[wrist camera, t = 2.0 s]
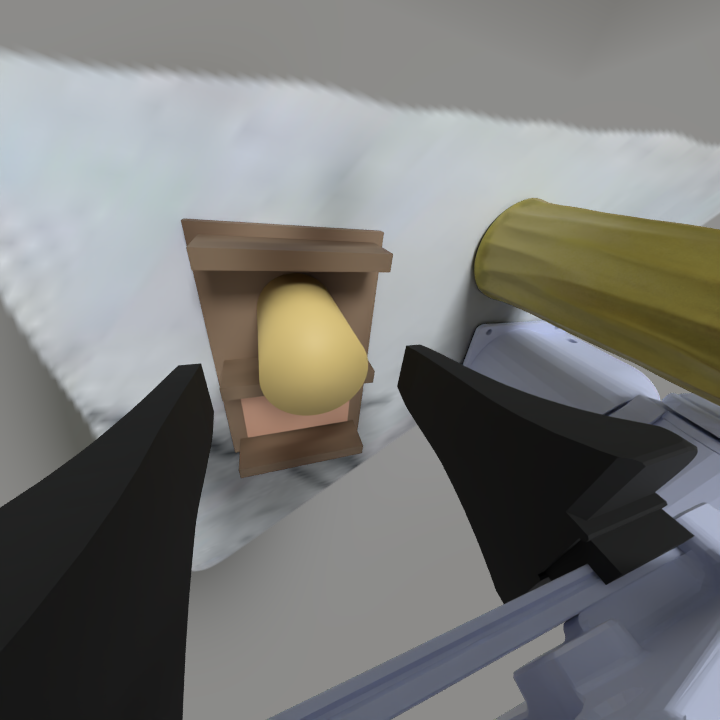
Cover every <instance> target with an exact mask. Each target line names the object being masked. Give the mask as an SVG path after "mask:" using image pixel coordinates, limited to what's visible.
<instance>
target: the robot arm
mask: <svg viewBox="0 0 720 720" xmlns="http://www.w3.org/2000/svg"><path fill="white" fill-rule="evenodd" d="M397 387H398V389H399V392H400V394H401V396H402V399H403V401H404V403H405V405H406V407H407V409H408V410H409V412H410V414H411V415H412V417H413V418H414V420H415V422H416V423H417V425H418V426H419V428H420V429H421V431H422V432H423V434H424V435H425V437H426V439H427V440H428V442H429V443H430V445H431V446H432V448H433V450H434V451H435V453H436V454H437V456H438V458H439V460H440V461H441V463H442V465H443V467H444V469H445V471H446V473H447V475H448V477H449V479H450V481H451V483H452V485H453V487H454V489H455V491H456V493H457V495H458V498H459V500H460V502H461V504H462V506H463V508H464V510H465V513H466V515H467V517H468V520H469V522H470V524H471V527H472V529H473V531H474V534H475V536H476V538H477V541H478V543H479V546H480V548H481V551H482V554H483V556H484V559H485V562H486V564H487V567H488V569H489V572H490V574H491V577H492V580H493V583H494V586H495V589H496V591H497V593H498V595H499V596H500V598H501V600H502V601H503V603H504V605H502V606H499V607H497V608H495V609H493V610H491V611H489V612H487V613H485V614H483V615H481V616H479V617H477V618H475V619H473V620H471V621H469V622H466V623H464V624H462V625H460V626H458V627H456V628H454V629H452V630H450V631H448V632H446V633H444V634H442V635H440V636H438V637H436V638H434V639H432V640H429V641H427V642H425V643H423V644H421V645H419V646H417V647H415V648H413V649H411V650H409V651H407V652H405V653H403V654H401V655H399V656H396V657H395V658H392V659H390V660H388V661H386V662H384V663H382V664H380V665H378V666H376V667H374V668H372V669H370V670H368V671H365V672H363V673H361V674H360V675H357V676H355V677H353V678H351V679H349V680H347V681H345V682H343V683H341V684H339V685H337V686H335V687H332V688H330V689H328V690H326V691H325V692H322V693H320V694H318V695H316V696H314V697H312V698H310V699H308V700H306V701H304V702H302V703H300V704H297V705H296V706H293V707H291V708H289V709H287V710H285V711H283V712H281V713H279V714H277V715H275V716H273V717H271V718H269V719H267V720H391V719H393V718H395V717H397V716H398V715H400V714H402V713H404V712H405V711H407V710H409V709H411V708H412V707H414V706H416V705H418V704H420V703H422V702H423V701H425V700H427V699H429V698H430V697H432V696H434V695H436V694H438V693H439V692H441V691H443V690H445V689H446V688H448V687H450V686H452V685H453V684H455V683H457V682H459V681H461V680H462V679H464V678H466V677H468V676H470V675H471V674H473V673H475V672H477V671H478V670H480V669H482V668H484V667H486V666H487V665H489V664H491V663H493V662H494V661H496V660H498V659H500V658H502V657H503V656H505V655H507V654H509V653H510V652H512V651H514V650H516V649H518V648H519V647H521V646H523V645H525V644H526V643H528V642H530V641H532V640H534V639H535V638H537V637H539V636H541V635H542V634H544V633H545V632H547V631H550V630H551V629H553V628H555V627H557V626H558V625H560V624H562V623H564V622H565V623H564V633H565V642H564V643H562V644H560V645H559V646H557V647H555V648H553V649H551V650H549V651H548V652H546V653H544V654H543V655H540V656H539V657H537V658H535V659H533V660H532V661H530V662H529V663H527V664H525V665H524V666H522V667H521V668H519V669H518V670H516V671H515V672H514V677H513V678H514V680H515V682H516V683H517V686H518V687H519V689H520V691H521V693H522V695H523V697H524V699H525V701H524V702H523V703H521V704H519V705H518V706H516V707H514V708H513V709H511V710H509V711H508V712H506V713H505V714H503V715H501V716H499V717H498V718H496V719H494V720H720V406H718V405H716V404H714V403H712V402H710V401H708V400H706V399H704V398H702V397H700V396H698V395H696V394H694V393H683V394H680V395H679V394H675V393H670V394H668V395H667V396H666V397H665V398H664V399H662V401H660V397H659V394H658V392H657V390H656V388H655V386H654V385H653V384H652V382H651V381H650V380H649V379H648V378H647V377H646V376H645V375H644V374H643V373H642V372H640V371H639V370H638V369H636V368H634V367H632V366H630V365H628V364H626V363H625V362H623V361H621V360H619V359H617V358H615V357H613V356H611V355H609V354H607V353H605V352H603V351H601V350H599V349H597V348H595V347H593V346H591V345H590V344H587V343H586V342H584V341H582V340H580V339H578V338H576V337H574V336H572V335H570V334H568V333H566V331H564V330H562V329H560V328H558V327H555V326H553V325H552V324H550V323H548V322H546V321H529V322H512V323H496V324H482V325H480V326H478V327H477V329H476V330H475V333H474V336H473V339H472V341H471V344H470V347H469V349H468V352H467V355H466V358H465V360H464V363H463V365H462V364H460V363H458V362H456V361H454V360H452V359H450V358H448V357H446V356H444V355H442V354H440V353H438V352H436V351H434V350H432V349H429V348H427V347H425V346H422V345H410V346H406V349H405V354H404V358H403V363H402V367H401V372H400V376H399V381H398V385H397ZM213 419H214V410H213V407H212V403H211V399H210V395H209V392H208V388H207V384H206V380H205V377H204V373H203V369H202V365H201V364H191V365H179V366H178V367H176V368H175V369H174V370H173V371H172V372H171V373H170V374H169V375H168V376H167V377H166V378H165V379H164V380H163V381H162V382H161V383H160V384H159V385H158V386H157V387H156V388H155V389H153V390H152V391H151V392H150V393H149V394H148V395H147V396H146V397H145V398H144V399H143V400H142V401H141V402H140V403H138V404H137V405H136V406H135V407H134V408H133V409H132V410H131V411H130V412H129V413H127V414H126V415H125V416H124V417H123V418H121V419H120V420H119V421H118V422H117V423H116V424H114V425H113V426H112V427H111V428H110V429H108V430H107V431H106V432H105V433H104V434H103V435H101V436H100V437H99V438H98V439H97V440H95V441H94V442H93V443H92V444H90V445H89V446H88V447H86V448H85V449H84V450H83V451H81V452H80V453H79V454H77V455H76V456H75V457H73V458H72V459H71V460H69V461H68V462H66V463H65V464H64V465H62V466H61V467H60V468H58V469H57V470H55V471H54V472H53V473H51V474H50V475H49V476H47V477H46V478H44V479H43V480H41V481H40V482H38V483H37V484H36V485H34V486H33V487H31V488H29V489H28V490H26V491H25V492H23V493H22V494H20V495H19V496H18V497H16V498H14V499H13V500H11V501H10V502H8V503H7V504H5V505H4V506H2V507H1V508H0V720H182V718H183V716H182V715H183V692H184V673H185V652H186V636H187V621H188V604H189V592H190V580H191V568H192V557H193V547H194V536H195V526H196V519H197V513H198V507H199V502H200V497H201V492H202V487H203V483H204V478H205V473H206V468H207V463H208V458H209V453H210V448H211V443H212V435H213Z"/></svg>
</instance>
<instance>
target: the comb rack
mask: <svg viewBox="0 0 720 720" xmlns="http://www.w3.org/2000/svg"><path fill="white" fill-rule="evenodd" d="M181 223H182V227H183V231H184V235H185V240H186V244H187V247H186V248H187V252H188V257H189V261H190V265H191V269H192V270H193V274H194V278H195V282H196V287H197V291H198V295H199V299H200V304H201V308H202V312H203V317H204V321H205V325H206V329H207V334H208V338H209V342H210V346H211V351H212V355H213V359H214V363H215V368H216V372H217V376H218V381H219V385H220V392H221V396H222V401H223V402H224V406H225V410H226V415H227V419H228V423H229V428H230V432H231V436H232V440H233V445H234V449H235V453H236V452H240V459H239V473H240V477H241V478H244V477H249V476H254V475H259V474H264V473H268V472H273V471H278V470H283V469H287V468H292V467H297V466H302V465H307V464H311V463H316V462H321V461H326V460H330V459H335V458H340V457H345V456H349V455H354V454H359V453H362V449H363V444H362V442H361V439H360V437H359V434H358V432H357V429H358V422H359V414H360V407H361V399H362V392H363V385H362V387H361V388H360V390H359V391H358V392H357V393H356V395H355V396H354V397H353V398H351V399H350V400H349V401H348V402H347V403H345V404H344V405H342V406H340V407H338V408H336V409H334V410H332V411H329V412H326V413H323V414H318V415H310V416H302V415H294V414H290V413H287V412H284V411H282V410H280V409H278V408H276V407H275V406H274V405H272V404H271V403H270V402H269V401H268V400H267V399H266V397H265V396H264V394H263V392H262V390H261V387H260V383H259V357H258V326H257V302H258V298H259V296H260V293H261V292H262V290H263V288H264V287H265V286H266V285H267V284H268V283H269V282H270V281H272V280H273V279H275V278H277V277H279V276H281V275H285V274H290V273H300V274H305V275H308V276H311V277H313V278H315V279H317V280H318V281H319V282H321V283H322V284H323V285H324V286H325V288H326V289H327V291H328V292H329V294H330V295H331V297H332V298H333V300H334V302H335V303H336V305H337V306H338V308H339V310H340V311H341V313H342V314H343V316H344V317H345V319H346V321H347V322H348V324H349V325H350V327H351V329H352V330H353V332H354V333H355V335H356V336H357V338H358V340H359V341H360V343H361V344H362V346H363V348H364V349H365V352H366V354H368V347H369V339H370V332H371V324H372V317H373V310H374V302H375V295H376V287H377V280H378V272H390V270H391V264H392V258H393V254H392V253H390V252H389V251H387V250H385V249H384V248H382V242H383V235H384V232H382V231H375V230H359V229H343V228H327V227H311V226H295V225H279V224H262V223H246V222H230V221H214V220H198V219H182V220H181ZM374 372H375V371H374V369H373V368H372V366H371V364H370V363H369V361H368V371H367V376H366V379H365V381H364V383H372V382H373V379H374ZM364 383H363V384H364Z"/></svg>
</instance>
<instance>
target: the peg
mask: <svg viewBox="0 0 720 720" xmlns="http://www.w3.org/2000/svg"><path fill="white" fill-rule="evenodd" d="M257 326H258V357H259V383H260V387H261V390H262V392H263V394H264V396H265V397H266V399H267V400H268V401H269V402H270V403H271V404H272V405H274V406H275V407H276V408H278V409H280V410H282V411H284V412H287V413H290V414H294V415H302V416H310V415H318V414H323V413H326V412H329V411H332V410H334V409H336V408H338V407H340V406H342V405H344V404H345V403H347V402H348V401H349V400H350V399H351V398H353V397H354V396H355V395H356V393H357V392H358V391H359V390H360V388H361V387H362V385H363V383H364V381H365V379H366V376H367V371H368V358H367V354H366V352H365V349H364V348H363V346H362V344H361V343H360V341H359V340H358V338H357V336H356V335H355V333H354V332H353V330H352V329H351V327H350V325H349V324H348V322H347V321H346V319H345V317H344V316H343V314H342V313H341V311H340V310H339V308H338V306H337V305H336V303H335V302H334V300H333V298H332V297H331V295H330V294H329V292H328V291H327V289H326V288H325V286H324V285H323V284H322V283H321V282H319V281H318V280H317V279H315V278H313V277H311V276H308V275H305V274H300V273H290V274H285V275H281V276H279V277H277V278H275V279H273V280H272V281H270V282H269V283H268V284H267V285H266V286H265V287H264V288H263V290H262V292H261V293H260V296H259V298H258V302H257Z"/></svg>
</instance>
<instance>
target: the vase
mask: <svg viewBox="0 0 720 720" xmlns="http://www.w3.org/2000/svg"><path fill="white" fill-rule="evenodd" d="M474 275H475V280H476V284H477V286H478V288H479V290H480V291H481V292H482V293H483V294H485V295H486V296H488V297H490V298H492V299H495V300H499V301H502V302H505V303H508V304H510V305H513V306H515V307H517V308H519V309H521V310H524V311H526V312H528V313H530V314H532V315H534V316H536V317H538V318H540V319H542V320H544V321H546V322H548V323H550V324H552V325H553V326H555V327H558V328H560V329H562V330H564V331H566V332H568V333H570V334H572V335H575V336H577V337H579V338H581V339H583V340H585V341H587V342H589V343H591V344H593V345H596V346H598V347H600V348H602V349H604V350H606V351H609V352H611V353H613V354H615V355H617V356H619V357H622V358H624V359H626V360H629V361H631V362H633V363H635V364H637V365H639V366H641V367H643V368H645V369H647V370H649V371H650V372H652V373H654V374H656V375H658V376H660V377H662V378H664V379H665V380H667V381H669V382H671V383H674V384H676V385H678V386H680V387H682V388H684V389H686V390H688V391H690V392H692V393H694V394H696V395H698V396H700V397H702V398H704V399H706V400H708V401H710V402H712V403H714V404H716V405H718V406H720V230H719V229H713V228H707V227H701V226H694V225H688V224H681V223H674V222H666V221H658V220H651V219H644V218H637V217H631V216H624V215H617V214H610V213H604V212H598V211H593V210H588V209H582V208H577V207H570V206H563V205H557V204H552V203H548V202H546V201H544V200H542V199H538V198H530V199H526V200H523V201H521V202H518V203H516V204H514V205H513V206H511V207H509V208H508V209H506V210H505V211H504V212H503V213H502V214H501V215H500V216H499V217H498V218H497V219H496V220H495V221H494V222H493V223H492V225H491V226H490V227H489V229H488V230H487V232H486V233H485V235H484V237H483V239H482V241H481V243H480V245H479V248H478V251H477V254H476V258H475V264H474Z"/></svg>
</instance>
